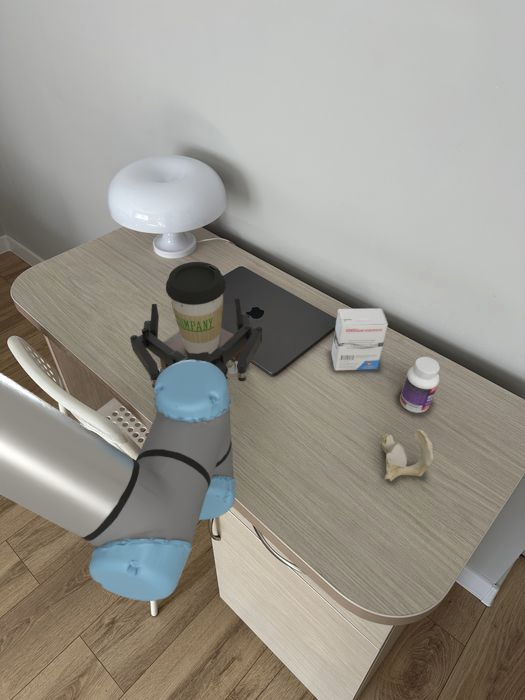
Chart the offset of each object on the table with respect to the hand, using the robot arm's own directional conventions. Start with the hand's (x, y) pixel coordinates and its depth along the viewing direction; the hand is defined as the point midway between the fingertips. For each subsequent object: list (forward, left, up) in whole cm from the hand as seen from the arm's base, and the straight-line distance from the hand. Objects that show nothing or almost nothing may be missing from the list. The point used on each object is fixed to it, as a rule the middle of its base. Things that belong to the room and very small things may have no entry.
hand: (196, 307), depth 82 cm
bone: (+38, +4, -17) cm, 42 cm away
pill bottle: (+34, +19, -17) cm, 43 cm away
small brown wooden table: (-1, +1, -17) cm, 17 cm away
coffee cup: (-1, +1, -10) cm, 10 cm away
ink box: (+20, +21, -17) cm, 34 cm away
